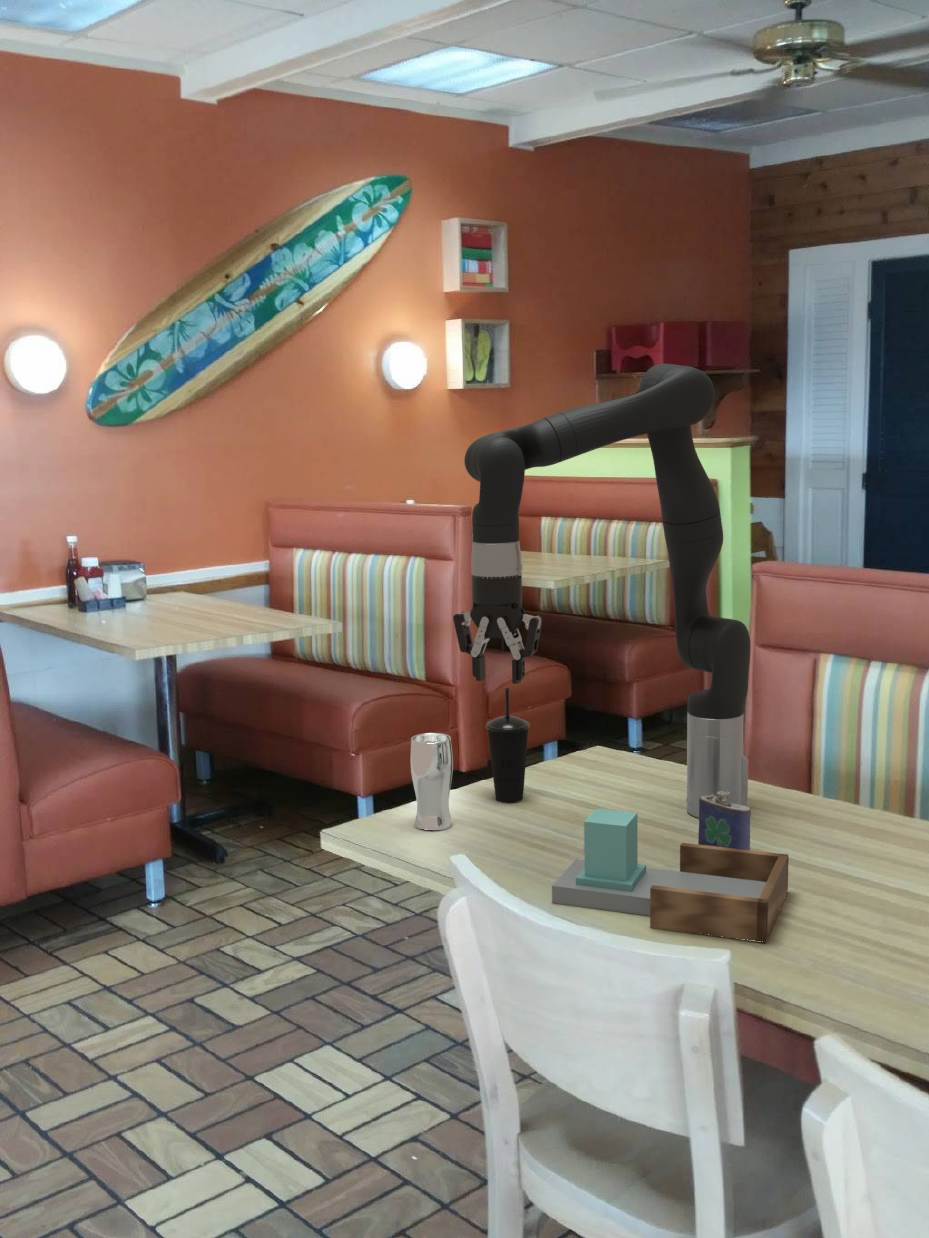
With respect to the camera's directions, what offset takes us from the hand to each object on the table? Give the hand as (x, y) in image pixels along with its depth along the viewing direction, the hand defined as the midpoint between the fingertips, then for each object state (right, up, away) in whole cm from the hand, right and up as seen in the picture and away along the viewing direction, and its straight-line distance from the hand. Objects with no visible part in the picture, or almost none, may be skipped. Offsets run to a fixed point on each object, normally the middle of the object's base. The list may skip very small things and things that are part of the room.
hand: (498, 681), depth 196 cm
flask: (+34, -27, 0) cm, 44 cm away
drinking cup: (+3, -22, +31) cm, 38 cm away
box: (+30, -30, -18) cm, 46 cm away
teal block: (+16, -27, -13) cm, 34 cm away
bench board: (+22, -30, -15) cm, 40 cm away
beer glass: (-10, -25, +18) cm, 33 cm away
